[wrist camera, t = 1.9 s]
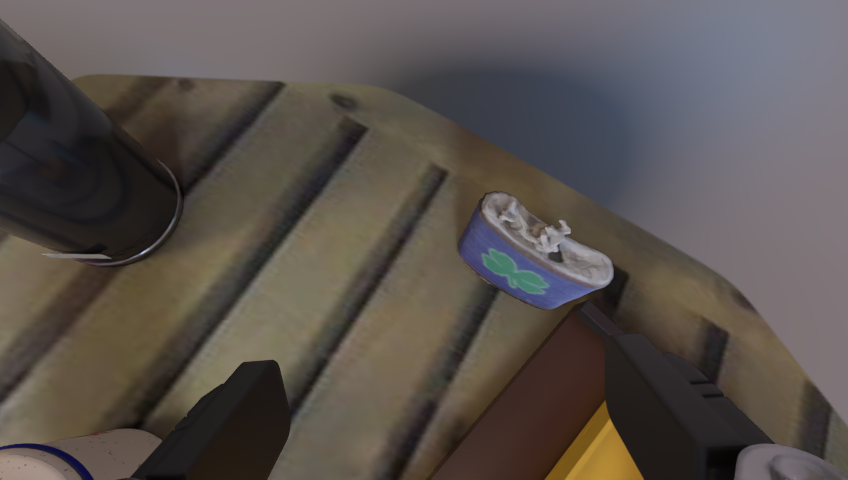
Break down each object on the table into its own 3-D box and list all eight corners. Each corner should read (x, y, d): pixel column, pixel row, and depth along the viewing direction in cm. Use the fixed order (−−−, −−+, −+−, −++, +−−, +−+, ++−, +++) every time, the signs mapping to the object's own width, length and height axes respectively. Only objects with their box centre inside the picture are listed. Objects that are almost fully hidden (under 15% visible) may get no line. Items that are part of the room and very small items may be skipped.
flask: (565, 290, 33) (640, 254, 23) (548, 322, 32) (618, 298, 22) (466, 229, 34) (496, 168, 24) (447, 257, 33) (470, 206, 23)
